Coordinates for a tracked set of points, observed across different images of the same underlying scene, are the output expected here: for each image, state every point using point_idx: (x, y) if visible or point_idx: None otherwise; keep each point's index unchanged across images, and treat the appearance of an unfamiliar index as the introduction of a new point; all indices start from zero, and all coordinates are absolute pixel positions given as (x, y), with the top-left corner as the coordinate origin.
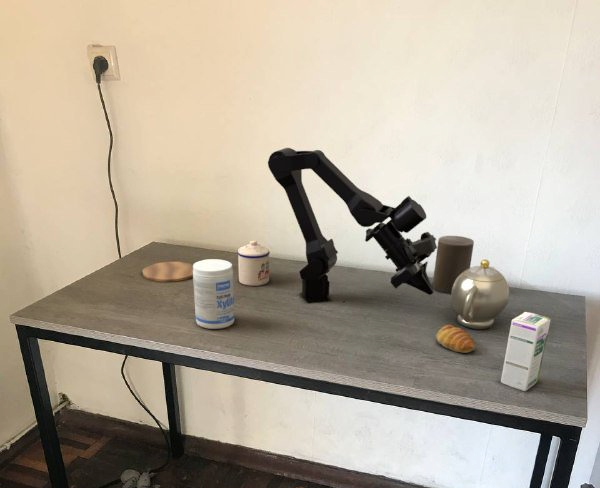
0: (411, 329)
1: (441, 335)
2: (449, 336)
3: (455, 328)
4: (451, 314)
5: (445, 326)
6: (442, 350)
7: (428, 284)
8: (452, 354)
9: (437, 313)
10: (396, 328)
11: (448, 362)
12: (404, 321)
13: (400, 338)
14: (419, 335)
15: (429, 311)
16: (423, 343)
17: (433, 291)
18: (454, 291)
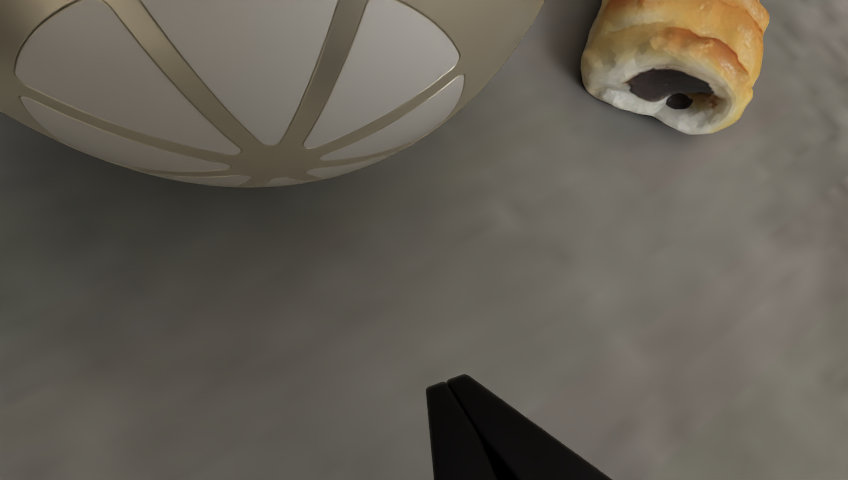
0: (666, 349)
1: (756, 75)
2: (767, 14)
3: (695, 3)
4: (216, 268)
5: (722, 64)
6: None
7: (554, 462)
8: None
9: (274, 368)
10: (726, 437)
11: (816, 2)
12: None
13: (809, 324)
14: (697, 258)
15: (278, 447)
16: (758, 186)
17: (437, 386)
18: (517, 29)
